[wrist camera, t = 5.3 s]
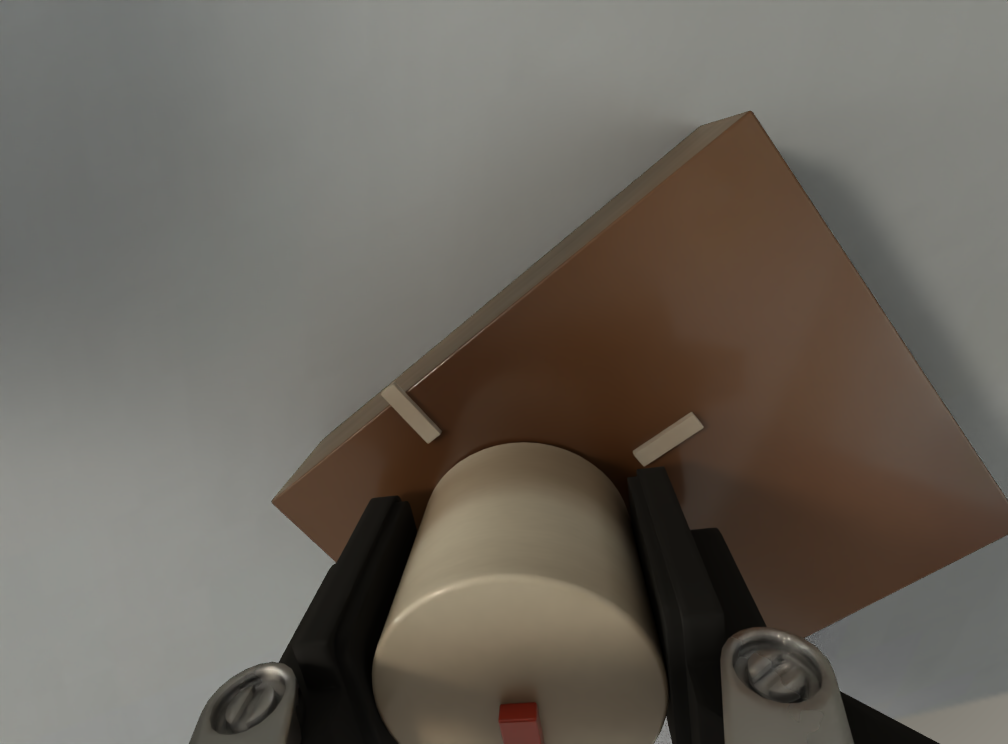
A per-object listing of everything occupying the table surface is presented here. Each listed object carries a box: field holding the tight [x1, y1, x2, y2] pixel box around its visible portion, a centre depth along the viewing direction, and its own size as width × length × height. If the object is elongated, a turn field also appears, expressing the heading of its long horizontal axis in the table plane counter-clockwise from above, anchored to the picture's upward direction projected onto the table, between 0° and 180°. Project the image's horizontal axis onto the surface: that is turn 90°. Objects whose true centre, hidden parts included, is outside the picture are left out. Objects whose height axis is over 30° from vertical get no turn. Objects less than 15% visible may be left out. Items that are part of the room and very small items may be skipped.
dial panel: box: [272, 111, 1008, 638], centre depth 13 cm, size 12×10×3 cm
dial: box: [372, 442, 669, 744], centre depth 10 cm, size 4×4×4 cm
